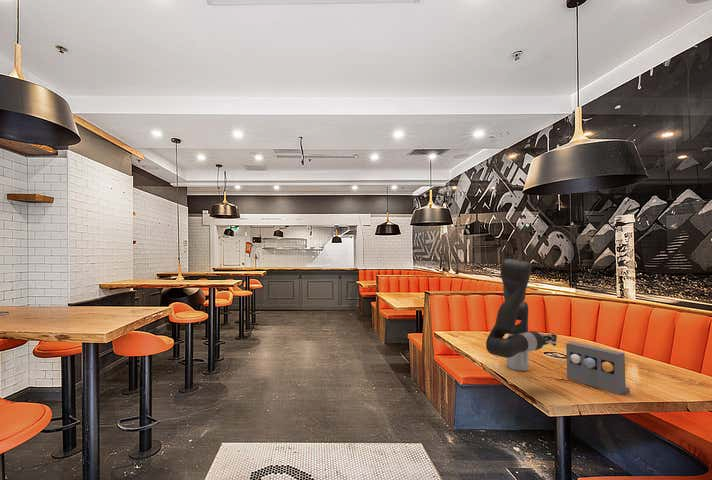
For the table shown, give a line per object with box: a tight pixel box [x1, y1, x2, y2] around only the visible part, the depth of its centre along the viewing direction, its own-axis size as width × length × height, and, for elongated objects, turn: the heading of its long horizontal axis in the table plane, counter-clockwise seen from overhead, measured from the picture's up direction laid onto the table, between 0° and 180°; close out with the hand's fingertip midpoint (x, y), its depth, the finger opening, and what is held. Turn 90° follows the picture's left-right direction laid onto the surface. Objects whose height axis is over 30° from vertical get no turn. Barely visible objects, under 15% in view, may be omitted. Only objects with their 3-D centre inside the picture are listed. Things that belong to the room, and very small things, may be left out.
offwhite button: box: [570, 353, 581, 363], centre depth 155 cm, size 4×3×4 cm
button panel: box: [565, 341, 631, 396], centre depth 150 cm, size 21×8×16 cm, turn 27°
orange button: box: [602, 361, 614, 372], centre depth 143 cm, size 4×3×4 cm
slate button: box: [584, 357, 597, 368], centre depth 149 cm, size 4×3×4 cm
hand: (554, 336), depth 149 cm, fingers closed
